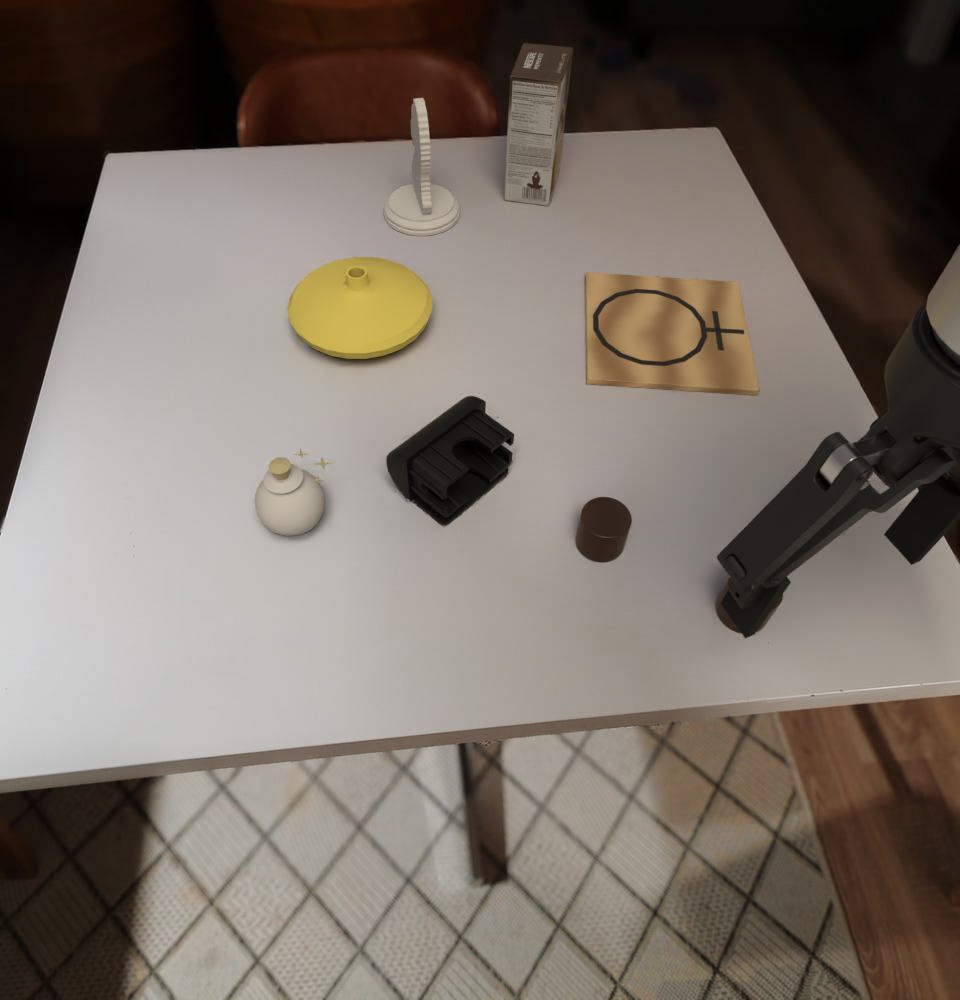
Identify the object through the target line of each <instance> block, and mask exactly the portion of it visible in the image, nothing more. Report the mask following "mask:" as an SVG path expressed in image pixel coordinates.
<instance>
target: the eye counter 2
mask: <svg viewBox="0 0 960 1000" xmlns="http://www.w3.org/2000/svg"><path fill="white" fill-rule="evenodd" d="M732 581H733V580H732V579H731V578H730V576H729V577H728V579H727V580H726V582H725V583H724V586H723V587H722V590H721V591H720V593H719V595H718V596H717V599H716V602H715V611H716V615H717V616H718V618H719V620H720V621H721V623H722V624H723V625H724V626H725V627H727V628H728V629H730V630H731V631H733V632H736V633H739V634H742V633H741V632H740V631H739V629H738V628H737V626H736V625H735V624H734V622H733V621H732V619H731V618H730V616H729V615H728V614H727V612H726V611H725V609H724V608H723V607H722V605H721V604H720V603H721V602H722V600H723V598H724V596H725V595H726V593H727V591H728V589H729V587H730V585H731V584H732ZM783 599H784V593H783V594H782V596H781V597H780V599H779V600H778V602H777V603H776V605H775V606H774V607H773V609H772V610H771V612H770V613H769V615H768V616H767V618H766V619H765V620H764V622H763V623H762V625H761V626H760V628H759V629H758V631H757V632H756V633H759V632H760V631H761V630H763V629H764V628H765V627H766V626H767V624H768V622H769V621H770V620H771V618H772V616H773V615H774V614H775V612H776V611H777V609H778V608H779V606H780V605H781V603H782V602H783Z"/></svg>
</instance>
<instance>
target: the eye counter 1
mask: <svg viewBox="0 0 960 1000" xmlns="http://www.w3.org/2000/svg"><path fill="white" fill-rule="evenodd" d="M632 521H633V518H632V513H631V511H630V509H629V508H628V507H627V506H626V504H624V503H623V502H622V501H620V500H618V499H617V498H614V497H610V496H598V497H594V498H592V499H590V500H588V501H587V502H586V503H585V504H584V505H583V506H582V508H581V511H580V515H579V520H578V525H577V529H576V533H575V546H576V548H577V550H578V552H579V553H580V554H581V555H582V556H583V557H584V558H586V559H587V560H589V561H592V562H595V563H601V564H602V563H610V562H613V561H615V560H616V559H618V558H619V557H620V556H621V555H622V553H623V551H624V549H625V545H626V543H627V539H628V537H629V536H628V535H629V534H630V533H629V532H630V531H631V527H632V523H633V522H632Z"/></svg>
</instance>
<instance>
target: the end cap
mask: <svg viewBox="0 0 960 1000" xmlns="http://www.w3.org/2000/svg"><path fill="white" fill-rule="evenodd" d="M486 408H487V402H486V400H484V399H483V398H480V397H479V396H474V395H466V396H465V397H463V398H462V399H460V400H459V401H458V402H457V403H455V404H453V405H452V406H451V407H449V408H448V409H447V410H446V411H445V410H444V412H442V413H441V414H440V415H439V416H437V417H436V418H435V419H433V420H432V421H431V422H429V423H428V424H426V425H425V426H424V427H422V428H421V429H420V430H418V431H417V432H416V433H414V434H413V435H411V436H410V437H409V438H407V439H405V440H404V441H403V442H402V443H400V445H398V446H397V447H395V448H394V449H393V450H391V451H390V452H389V453H388V454H387V455H386V460H385V463H386V468H387V472H388V475H389V476H390V478H391V480H392V482H393V483H394V485H395V487H397V489H398V490H399V491H400V493H401V494H402V495H403V496H404V497H405V498H406V499H407V500H408V501H409V502H412V503H414V504H415V505H416V506H417V507H418V508H419V509H420V510H422V511H423V512H424V513H426V514H427V515H428V516H429V517H431V519H434V521H436V522H437V523H438V524H439V525H441V526H448V525H450V524H451V523H452V522H453V521H454V520H456V519H457V518H458V517H460V516H461V515H462V514H463V513H464V512H465V511H466V510H468V509H469V508H470V507H471V506H473V505H474V504H475V503H476V502H478V501H479V500H480V499H481V498H482V497H483V496H485V495H486V494H487V493H488V492H490V491H491V490H492V489H493V488H494V487H495V486H497V485H498V484H499V483H500V482H501V481H503V480H504V479H506V478H507V476H508V475H509V473H510V469H509V468H510V467H511V464H512V463H513V454H514V453H513V452H512V451H511V450H510V449H508V448H507V447H506V446H505V445H503V444H504V443H506V444H507V445H509V446H510V447H512V446H513V445H514V441H515V433H514V432H513V431H511V430H510V429H508V428H507V427H506V426H504V425H503V424H502V423H500V422H498V421H497V420H495V419H494V418H493V417H492V416H490V415H488V414H487V412H486Z"/></svg>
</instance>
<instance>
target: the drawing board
mask: <svg viewBox="0 0 960 1000" xmlns="http://www.w3.org/2000/svg"><path fill="white" fill-rule="evenodd" d="M584 279H585V280H584V281H585V284H584V285H585V352H586V353H585V356H586V357H585V358H586V359H585V360H586V363H585V364H586V384H587V385H593V386H594V385H597V386H610V387H624V388H625V387H626V388H640V389H641V388H642V389H656V390H668V391H669V390H670V391H671V390H672V391H685V392H686V391H687V392H698V393H699V392H700V393H712V394H713V393H715V394H729V395H741V396H742V395H744V396H758V395H759V393H760V390H761V389H760V386H759V380H758V374H757V369H756V365H755V360H754V355H753V350H752V346H751V345H752V344H751V340H750V335H749V330H748V325H747V320H746V315H745V309H744V304H743V300H742V294H741V290H740V285H739V281H733V280H732V281H730V280H729V281H728V280H717V279H716V280H714V279H697V278H683V277H667V276H651V275H636V274H635V275H634V274H622V273H621V274H619V273H603V272H589V271H588V272H585V278H584Z"/></svg>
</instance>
